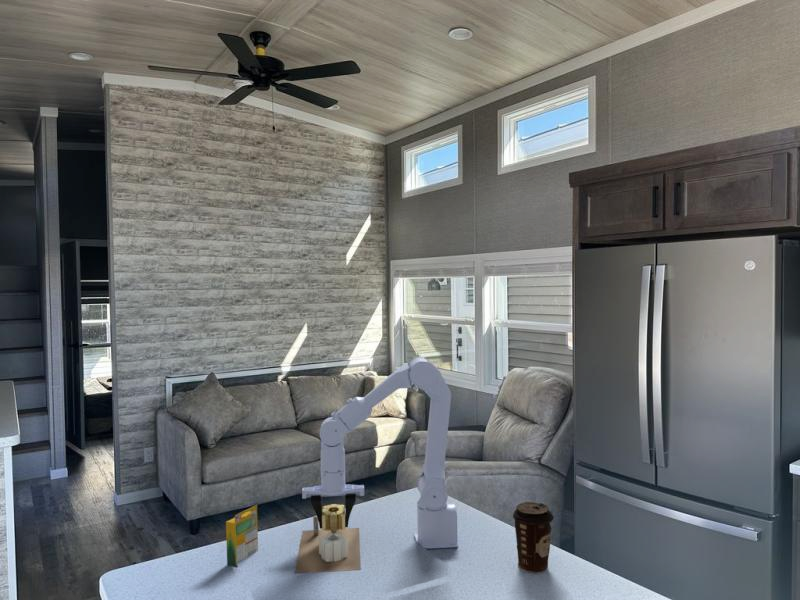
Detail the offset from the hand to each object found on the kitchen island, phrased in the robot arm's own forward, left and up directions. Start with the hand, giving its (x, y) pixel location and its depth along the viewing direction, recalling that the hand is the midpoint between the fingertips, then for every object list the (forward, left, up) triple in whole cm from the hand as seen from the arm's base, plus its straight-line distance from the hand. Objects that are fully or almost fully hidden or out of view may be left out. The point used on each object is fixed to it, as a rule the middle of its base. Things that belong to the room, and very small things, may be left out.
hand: (334, 526), depth 139 cm
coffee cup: (-43, +15, -5) cm, 46 cm away
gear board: (+1, +3, -5) cm, 6 cm away
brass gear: (0, -1, 0) cm, 0 cm away
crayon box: (+21, +4, -5) cm, 22 cm away
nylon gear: (0, +7, -4) cm, 8 cm away
